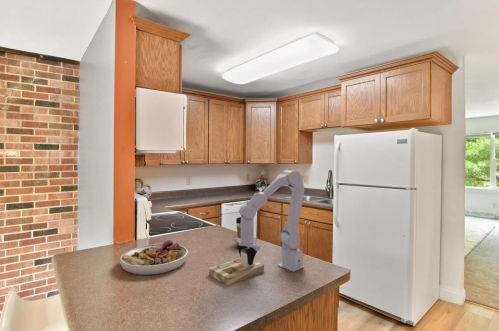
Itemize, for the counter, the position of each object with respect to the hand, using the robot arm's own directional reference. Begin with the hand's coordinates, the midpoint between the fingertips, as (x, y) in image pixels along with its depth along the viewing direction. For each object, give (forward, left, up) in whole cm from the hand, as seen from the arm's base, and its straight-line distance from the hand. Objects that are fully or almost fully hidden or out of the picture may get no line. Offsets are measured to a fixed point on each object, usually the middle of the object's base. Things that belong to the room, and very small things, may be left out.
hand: (247, 262), depth 121 cm
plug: (0, 0, -2) cm, 2 cm away
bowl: (+36, +26, -4) cm, 44 cm away
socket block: (+2, +5, -4) cm, 6 cm away
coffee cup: (+32, -24, -4) cm, 40 cm away
